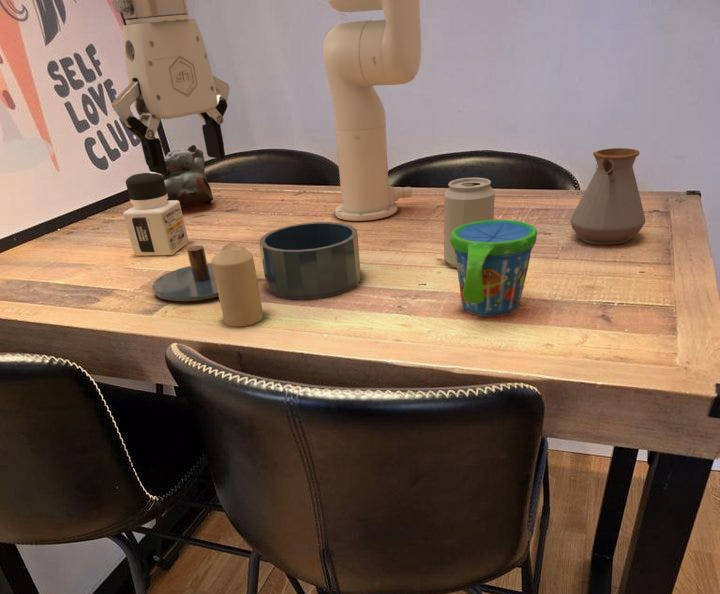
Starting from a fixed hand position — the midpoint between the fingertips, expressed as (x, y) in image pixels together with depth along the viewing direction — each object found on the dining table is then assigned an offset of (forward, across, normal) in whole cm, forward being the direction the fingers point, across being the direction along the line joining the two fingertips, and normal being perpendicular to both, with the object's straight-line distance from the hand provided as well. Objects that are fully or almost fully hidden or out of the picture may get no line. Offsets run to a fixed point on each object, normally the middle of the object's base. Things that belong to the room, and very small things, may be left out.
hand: (188, 164), depth 87 cm
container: (+19, +11, +30) cm, 37 cm away
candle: (+19, -3, -10) cm, 22 cm away
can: (+19, +31, -25) cm, 44 cm away
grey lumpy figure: (+19, +33, +53) cm, 65 cm away
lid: (+18, +2, +6) cm, 19 cm away
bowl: (+18, +12, -9) cm, 24 cm away
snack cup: (+19, +17, -37) cm, 45 cm away
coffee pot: (+19, +47, -39) cm, 64 cm away
